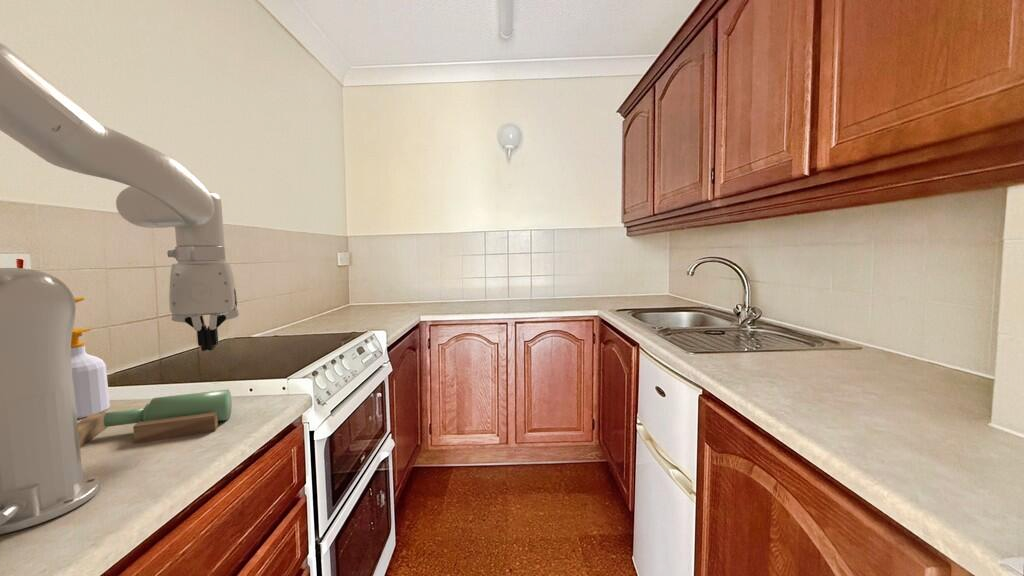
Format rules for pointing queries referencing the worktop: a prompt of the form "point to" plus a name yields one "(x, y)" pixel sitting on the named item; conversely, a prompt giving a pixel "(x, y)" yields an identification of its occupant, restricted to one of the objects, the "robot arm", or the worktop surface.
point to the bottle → (175, 408)
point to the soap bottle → (88, 378)
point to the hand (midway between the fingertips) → (208, 349)
